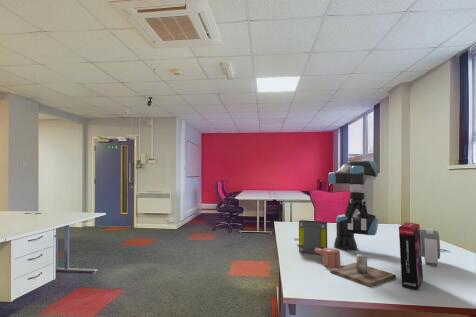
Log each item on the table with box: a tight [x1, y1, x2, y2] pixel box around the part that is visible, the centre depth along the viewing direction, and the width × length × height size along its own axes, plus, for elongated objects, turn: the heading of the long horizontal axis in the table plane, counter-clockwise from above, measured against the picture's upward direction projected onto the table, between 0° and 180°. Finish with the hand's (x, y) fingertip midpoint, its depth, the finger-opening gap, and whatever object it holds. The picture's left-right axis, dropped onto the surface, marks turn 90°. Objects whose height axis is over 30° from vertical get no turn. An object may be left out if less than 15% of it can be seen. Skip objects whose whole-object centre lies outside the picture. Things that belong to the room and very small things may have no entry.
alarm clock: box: [420, 227, 441, 268], centre depth 156 cm, size 18×8×20 cm, turn 148°
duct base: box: [329, 254, 397, 288], centre depth 136 cm, size 22×22×10 cm
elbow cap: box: [314, 247, 341, 268], centre depth 155 cm, size 16×9×8 cm, turn 33°
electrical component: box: [298, 219, 328, 255], centre depth 178 cm, size 18×10×20 cm, turn 68°
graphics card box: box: [398, 221, 424, 291], centre depth 126 cm, size 17×7×27 cm, turn 139°
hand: (357, 229), depth 151 cm, fingers open, 13 cm apart
